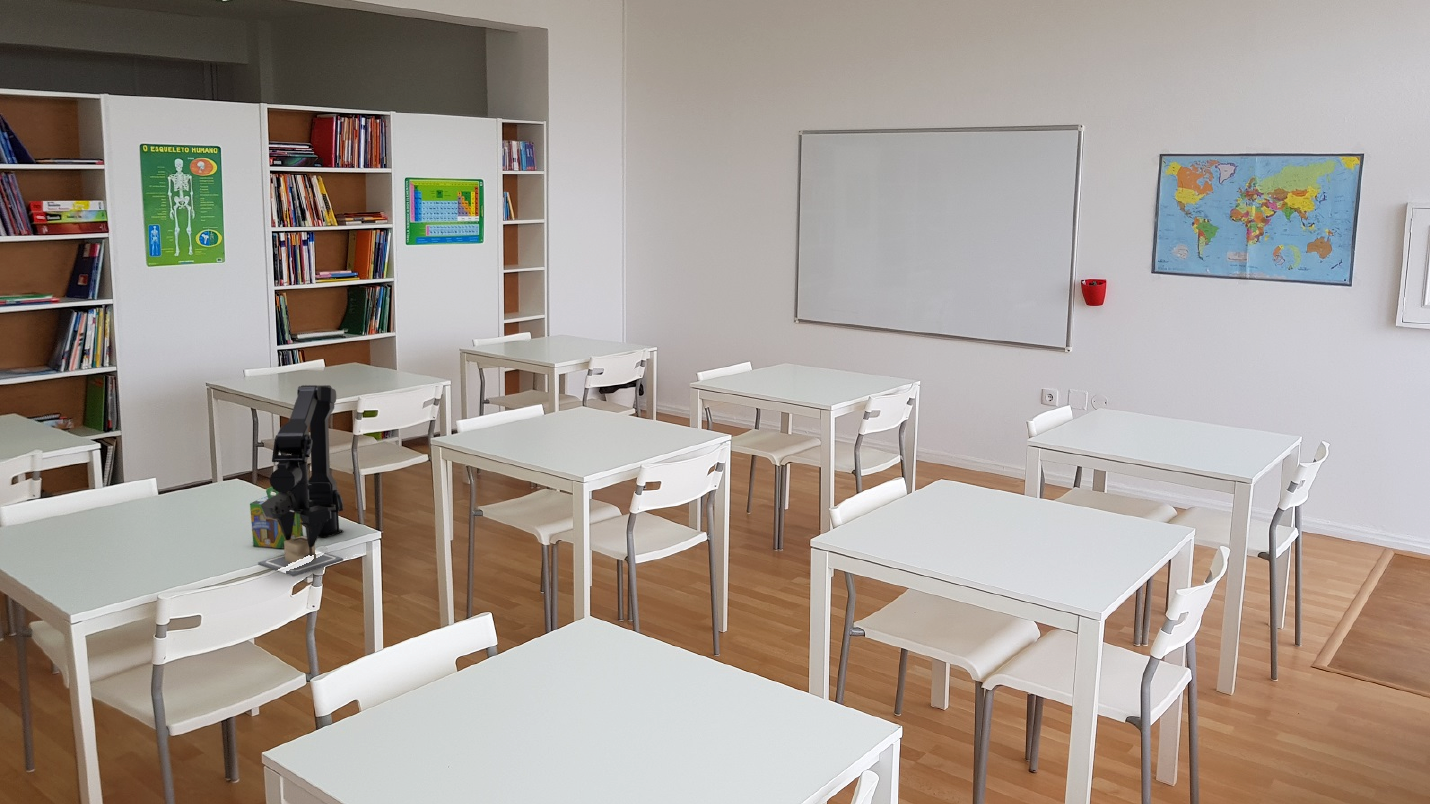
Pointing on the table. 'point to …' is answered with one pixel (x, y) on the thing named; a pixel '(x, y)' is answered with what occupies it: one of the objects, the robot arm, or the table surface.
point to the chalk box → (270, 525)
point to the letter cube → (298, 549)
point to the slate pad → (314, 564)
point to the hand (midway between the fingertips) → (299, 543)
